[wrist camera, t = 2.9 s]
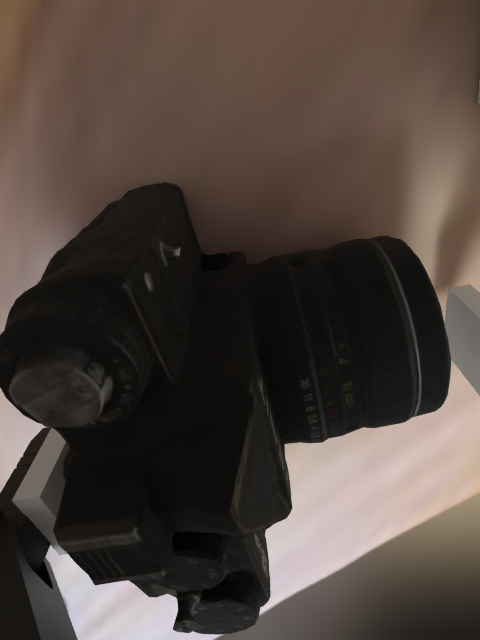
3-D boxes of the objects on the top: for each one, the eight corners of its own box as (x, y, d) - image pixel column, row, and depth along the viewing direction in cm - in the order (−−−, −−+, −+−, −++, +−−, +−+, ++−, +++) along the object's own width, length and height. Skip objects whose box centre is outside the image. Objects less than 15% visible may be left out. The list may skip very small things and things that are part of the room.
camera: (381, 415, 20) (490, 659, 11) (187, 445, 21) (156, 689, 12) (376, 129, 13) (659, 210, 4) (82, 196, 14) (-162, 369, 5)
